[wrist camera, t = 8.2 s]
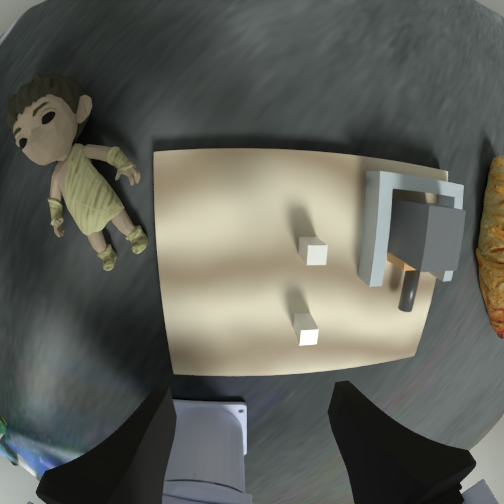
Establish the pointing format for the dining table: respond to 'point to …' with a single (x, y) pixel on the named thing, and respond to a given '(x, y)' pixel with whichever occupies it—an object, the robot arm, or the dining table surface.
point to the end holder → (380, 216)
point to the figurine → (72, 160)
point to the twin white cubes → (311, 254)
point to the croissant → (493, 246)
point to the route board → (276, 262)
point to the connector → (423, 242)
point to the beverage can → (2, 426)
